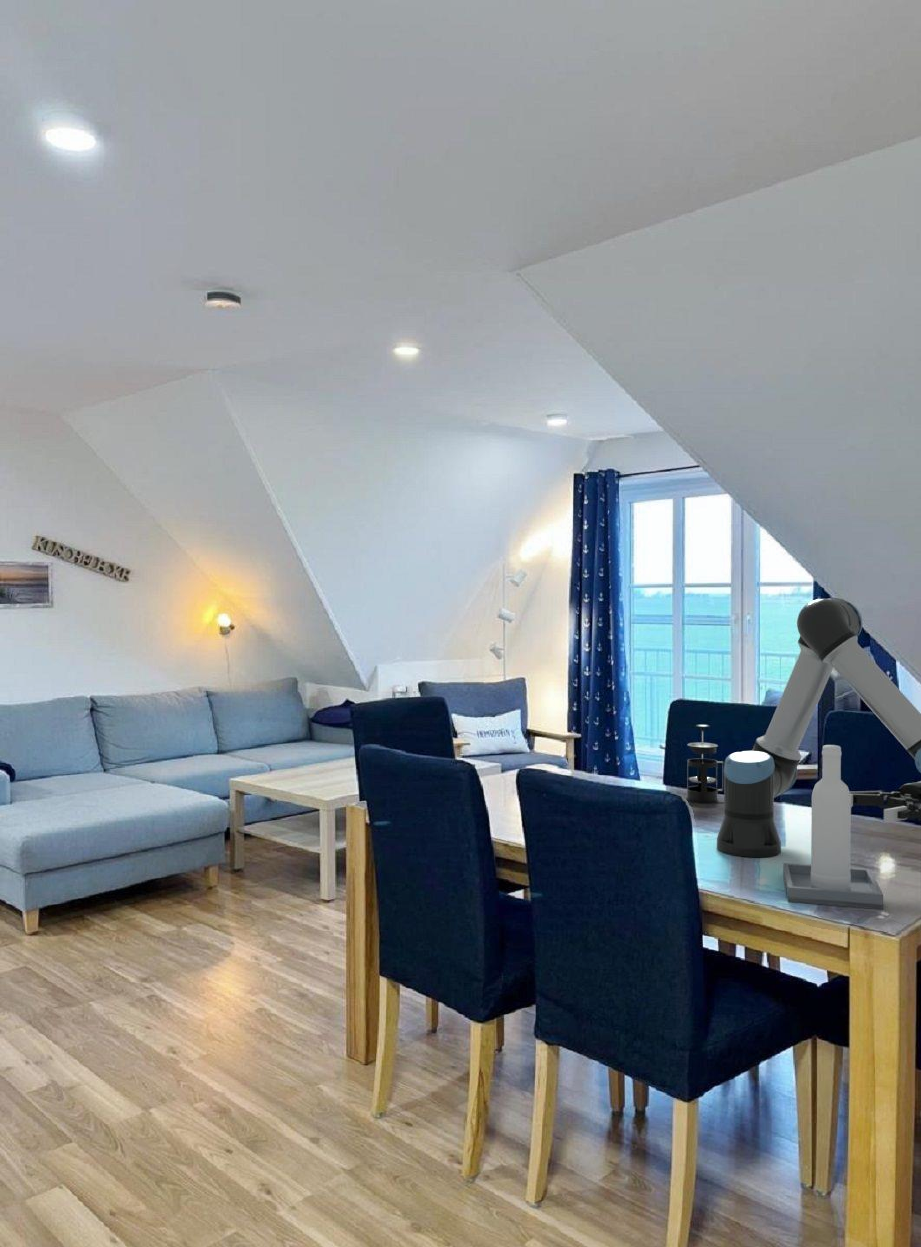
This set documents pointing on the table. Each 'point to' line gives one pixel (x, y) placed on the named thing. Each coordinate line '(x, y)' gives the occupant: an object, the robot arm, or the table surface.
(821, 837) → the bottle
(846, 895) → the tray
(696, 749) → the french press
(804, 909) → the table surface
